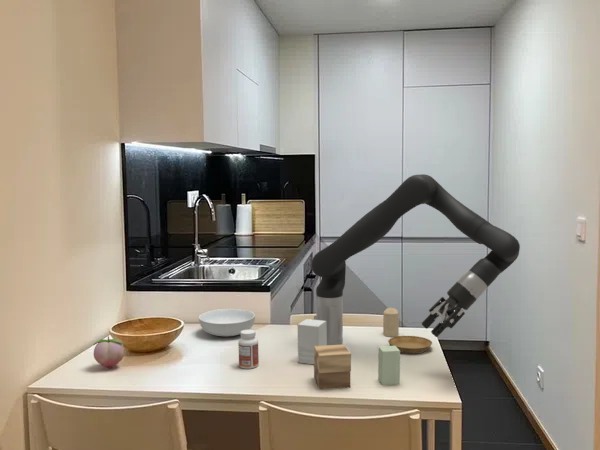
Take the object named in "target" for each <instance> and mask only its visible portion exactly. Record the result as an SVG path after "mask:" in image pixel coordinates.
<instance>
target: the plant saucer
mask: <svg viewBox="0 0 600 450" xmlns="http://www.w3.org/2000/svg"><path fill="white" fill-rule="evenodd" d="M387 343H388V344H389V346H396V347H397V348H398V349H399V350H400V353H404V354H420V353H424V352H426V351H427V350H428V349H429V348H431V346H432V345H433V341H432V340H430V339H429V338H426V337H421V336H417V335H416V336H415V335H398V336H396V337H389V339H388V340H387Z"/></svg>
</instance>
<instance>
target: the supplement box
mask: <svg viewBox="0 0 600 450" xmlns="http://www.w3.org/2000/svg"><path fill="white" fill-rule="evenodd" d="M296 326H297V362H298V363H301V364H308V365H314V346H324V345H327V328H326V321H322V320H314V319H310V318H305V319H304V320H302V321H301V322H299V323H298V324H297V325H296Z"/></svg>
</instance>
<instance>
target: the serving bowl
mask: <svg viewBox="0 0 600 450" xmlns="http://www.w3.org/2000/svg"><path fill="white" fill-rule="evenodd" d="M255 319H256V314H255V313H254V312H253V311H251V310H247V309H243V308H220V309H218V308H217V309H212V310H208V311H206V312H203V313H201V314H200V315H199V316H198V320H199V324H200V327H201V328H202V330H203V331H204V332H206V333H207V334H210V335H213V336H218V337H235V336H238V335H241V331H243V330H251V328H252V327H253V326H254V323H255Z"/></svg>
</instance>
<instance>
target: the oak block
mask: <svg viewBox="0 0 600 450" xmlns="http://www.w3.org/2000/svg"><path fill="white" fill-rule="evenodd" d="M314 364H315V365H316V367H317V369H318V371H319V373H330V372H346V371H350V372H352V354H351V352H350V350H349V349H348V348H347V347H346V345H345V344H344V343H343V344H342V345H324V346H314ZM314 364H313V365H314Z"/></svg>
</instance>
